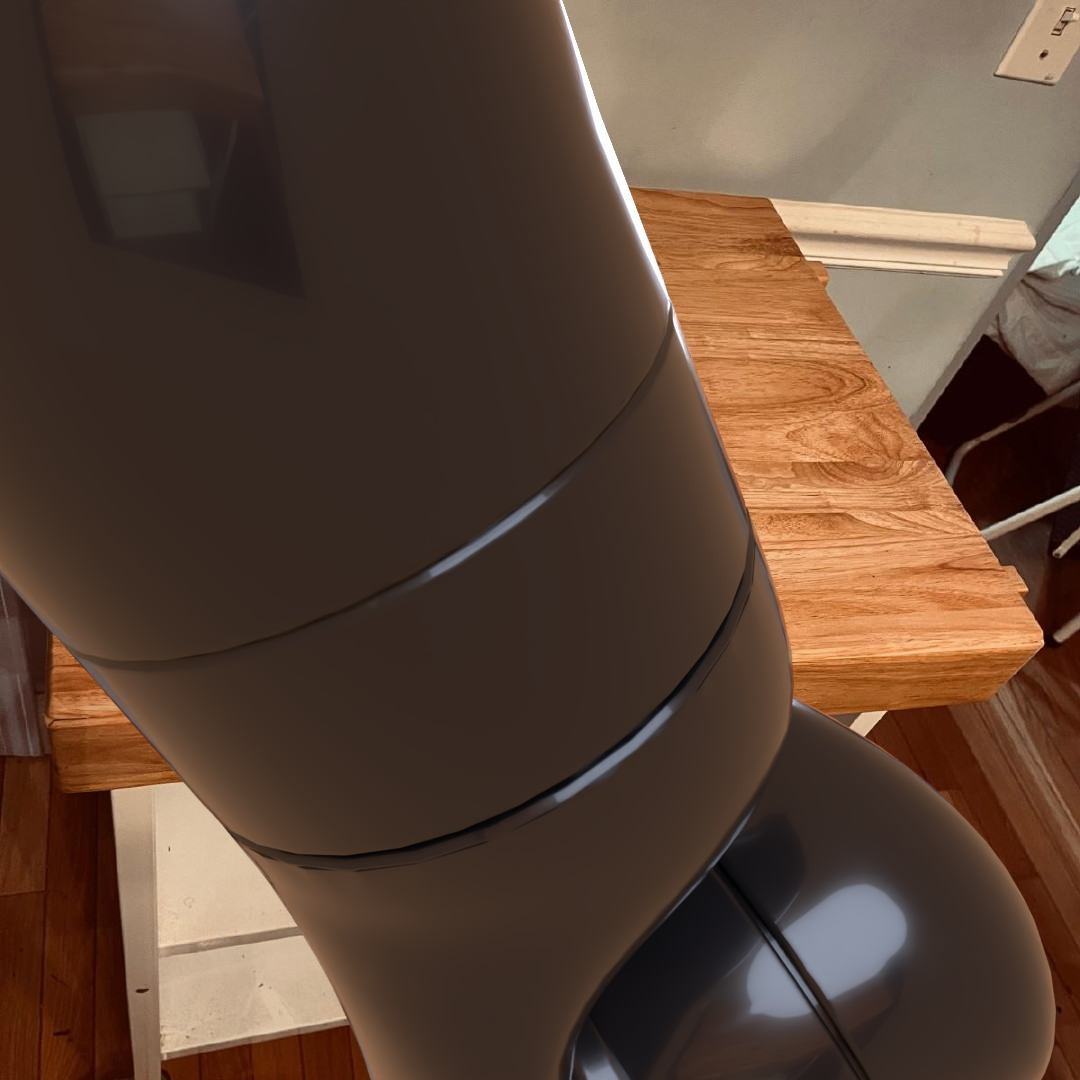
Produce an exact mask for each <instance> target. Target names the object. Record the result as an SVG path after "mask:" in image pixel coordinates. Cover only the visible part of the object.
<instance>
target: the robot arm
mask: <svg viewBox="0 0 1080 1080" xmlns="http://www.w3.org/2000/svg"><path fill="white" fill-rule="evenodd" d="M594 95H595V94H594V92H593V89H592V87H591V84H590V80H589V78H588V74H587V71H586V69H585V66H584V62H583V60H582V56H581V54H580V49H579V47H578V44H577V42H576V39H575V36H574V32H573V29H572V26H571V23H570V21H569V17H568V14H567V11H566V8H565V5H564V2H563V0H0V576H1V577H3V579H4V580H5V581H6V583H7V584H8V585H9V586H10V587H11V588H12V589H13V590H14V592H15V593H16V594H17V595H18V596H19V597H20V598H21V600H22V601H23V602H24V603H25V604H26V605H27V607H28V608H29V609H30V610H31V611H32V612H33V614H35V615H36V617H37V618H38V619H39V620H40V621H41V623H42V624H44V626H45V627H46V628H47V629H48V630H49V631H50V632H51V634H52V635H54V636H55V637H56V639H57V640H58V641H59V642H60V643H61V644H62V645H63V647H64V648H65V649H66V650H67V651H68V653H70V654H71V656H72V657H73V658H74V659H75V660H76V662H77V663H78V664H79V665H80V666H81V668H82V669H84V671H85V672H86V673H87V674H88V675H89V676H90V678H91V679H92V680H93V681H94V682H95V683H96V685H98V687H99V688H100V689H101V690H102V691H103V693H104V694H105V695H106V696H107V697H108V698H109V699H110V700H111V701H112V703H113V704H114V705H115V706H116V707H117V708H118V709H119V711H120V712H121V713H122V714H123V715H124V717H125V718H126V719H127V720H128V721H129V722H130V723H131V724H132V725H133V727H134V728H135V729H136V730H137V731H138V732H139V733H140V735H141V736H142V737H143V739H145V740H146V742H147V743H148V744H149V745H150V746H151V747H152V748H153V749H154V751H155V752H156V753H157V754H158V755H159V756H160V758H162V760H163V761H164V762H165V763H166V764H167V765H168V767H169V768H170V769H171V770H172V772H174V774H175V775H177V777H178V778H179V779H180V780H181V781H182V783H183V784H184V785H185V786H186V787H187V789H188V790H190V792H191V793H192V794H193V795H194V797H196V799H197V800H198V801H199V802H200V803H201V804H202V806H203V807H204V808H205V809H207V810H208V811H209V813H210V814H212V816H213V817H214V818H215V819H216V820H217V821H218V822H219V824H220V825H222V827H223V828H224V829H225V830H226V832H227V833H228V835H229V836H230V837H231V839H233V841H234V842H235V843H236V844H237V845H238V847H239V848H240V849H241V850H242V852H243V853H244V854H245V855H246V856H247V858H248V859H249V860H250V861H251V862H252V864H254V866H255V867H256V868H257V869H258V870H259V872H260V873H261V874H262V876H263V877H264V878H265V880H266V881H267V883H268V884H269V886H270V887H271V888H272V890H273V891H274V893H275V894H276V896H277V897H278V899H279V900H280V902H281V903H282V904H283V905H282V906H284V907H285V909H286V911H287V912H288V913H289V915H290V916H291V918H292V920H293V922H294V923H295V925H296V926H297V928H298V930H299V931H300V933H301V935H302V936H303V938H304V939H305V941H306V943H307V945H308V946H309V948H310V950H311V951H312V953H313V954H314V956H315V958H316V960H317V961H318V963H319V966H320V967H321V969H322V971H323V973H324V974H325V977H326V978H327V981H328V982H329V984H330V986H331V988H332V989H333V992H334V994H335V996H336V998H337V1000H338V1002H339V1005H340V1007H341V1009H342V1011H343V1014H344V1016H345V1018H346V1020H347V1022H348V1024H349V1026H350V1028H351V1031H352V1033H353V1035H354V1038H355V1039H356V1042H357V1045H358V1047H359V1050H360V1053H361V1055H362V1057H363V1060H364V1063H365V1066H366V1069H367V1072H368V1075H369V1079H370V1080H1042V1079H1043V1077H1044V1075H1045V1074H1046V1070H1047V1068H1048V1066H1049V1063H1050V1061H1051V1057H1052V1053H1053V1050H1054V1049H1053V1048H1054V1045H1055V1035H1056V1034H1055V1032H1056V1031H1055V1029H1056V1015H1057V1013H1056V1012H1057V1011H1056V1009H1057V1008H1056V1000H1055V993H1054V986H1053V978H1052V971H1051V968H1050V965H1049V961H1048V958H1047V955H1046V952H1045V949H1044V945H1043V943H1042V939H1041V936H1040V933H1039V930H1038V927H1037V924H1036V921H1035V919H1034V916H1033V915H1032V913H1031V911H1030V908H1029V906H1028V904H1027V902H1026V900H1025V898H1024V896H1023V895H1022V893H1021V891H1020V890H1019V888H1018V886H1017V884H1016V883H1015V881H1014V879H1013V877H1012V876H1011V874H1010V873H1009V870H1008V869H1007V868H1006V866H1005V865H1004V864H1003V862H1002V861H1001V859H1000V858H999V856H998V855H997V854H996V852H995V851H994V850H993V848H992V847H991V846H990V844H989V843H988V842H987V840H986V839H985V838H984V837H983V836H982V834H981V833H980V832H979V831H978V830H977V829H976V828H975V827H974V826H973V825H972V824H971V822H970V821H968V819H967V818H966V817H965V816H963V814H962V813H961V812H960V811H959V810H958V809H957V808H956V807H955V806H954V805H953V804H952V803H951V802H950V801H949V800H948V799H947V798H946V797H944V796H943V795H942V794H941V793H940V792H939V791H938V790H937V789H936V788H935V787H934V786H933V785H931V784H930V782H928V781H927V780H925V778H923V777H922V776H920V775H919V774H917V772H915V771H914V770H912V769H911V768H910V767H908V766H907V765H906V764H905V763H903V761H900V760H899V759H897V758H896V757H895V756H893V755H892V754H891V753H889V752H888V751H887V750H886V749H884V748H883V747H881V746H880V745H878V744H877V743H875V742H874V741H872V740H871V739H869V738H867V737H865V736H864V735H862V734H861V733H859V732H857V731H856V730H854V729H852V728H851V727H849V726H848V725H846V724H844V723H843V722H841V721H840V720H837V719H836V718H835V717H833V716H831V715H829V714H827V713H825V712H823V711H822V710H820V709H818V708H817V707H815V706H812V705H810V704H809V703H807V702H805V701H803V700H801V699H800V698H797V697H796V696H794V691H795V678H794V677H795V676H794V666H793V665H794V664H793V662H794V661H793V652H792V647H791V642H790V637H789V633H788V627H787V624H786V619H785V615H784V611H783V607H782V606H783V605H782V602H781V599H780V596H779V593H778V589H777V587H776V584H775V580H774V577H773V575H772V571H771V568H770V565H769V563H768V559H767V557H766V555H765V551H764V549H763V546H762V544H761V541H760V538H759V535H758V533H757V530H756V527H755V524H754V522H753V519H752V517H751V514H750V511H749V509H748V507H747V505H746V501H745V498H744V495H743V491H742V490H741V487H740V484H739V482H738V479H737V476H736V474H735V471H734V467H733V464H732V463H731V460H730V457H729V454H728V450H727V448H726V446H725V443H724V440H723V438H722V435H721V433H720V432H721V431H720V430H719V426H718V424H717V421H716V419H715V416H714V412H713V410H712V407H711V405H710V403H709V399H708V396H707V394H706V392H705V388H704V386H703V383H702V381H701V378H700V375H699V373H698V372H699V371H698V370H697V366H696V364H695V361H694V359H693V356H692V353H691V350H690V348H689V344H688V342H687V340H686V336H685V334H684V332H683V329H682V326H681V323H680V320H679V318H678V315H677V313H676V309H675V307H674V304H673V302H672V300H671V298H670V296H669V294H668V288H667V285H666V282H665V280H664V277H663V275H662V272H661V269H660V266H659V264H658V261H657V259H656V256H655V254H654V251H653V248H652V246H651V243H650V241H649V238H648V236H647V233H646V230H645V228H644V225H643V222H642V220H641V217H640V214H639V212H638V209H637V206H636V204H635V201H634V199H633V195H632V194H631V191H630V189H629V185H628V183H627V181H626V178H625V175H624V174H623V173H624V172H623V170H622V167H621V164H620V163H619V160H618V157H617V154H616V152H615V150H614V149H615V148H614V146H613V144H612V142H611V139H610V137H609V133H608V132H607V129H606V126H605V123H604V120H603V118H602V115H601V113H600V110H599V107H598V104H597V102H596V99H595V96H594Z"/></svg>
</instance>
